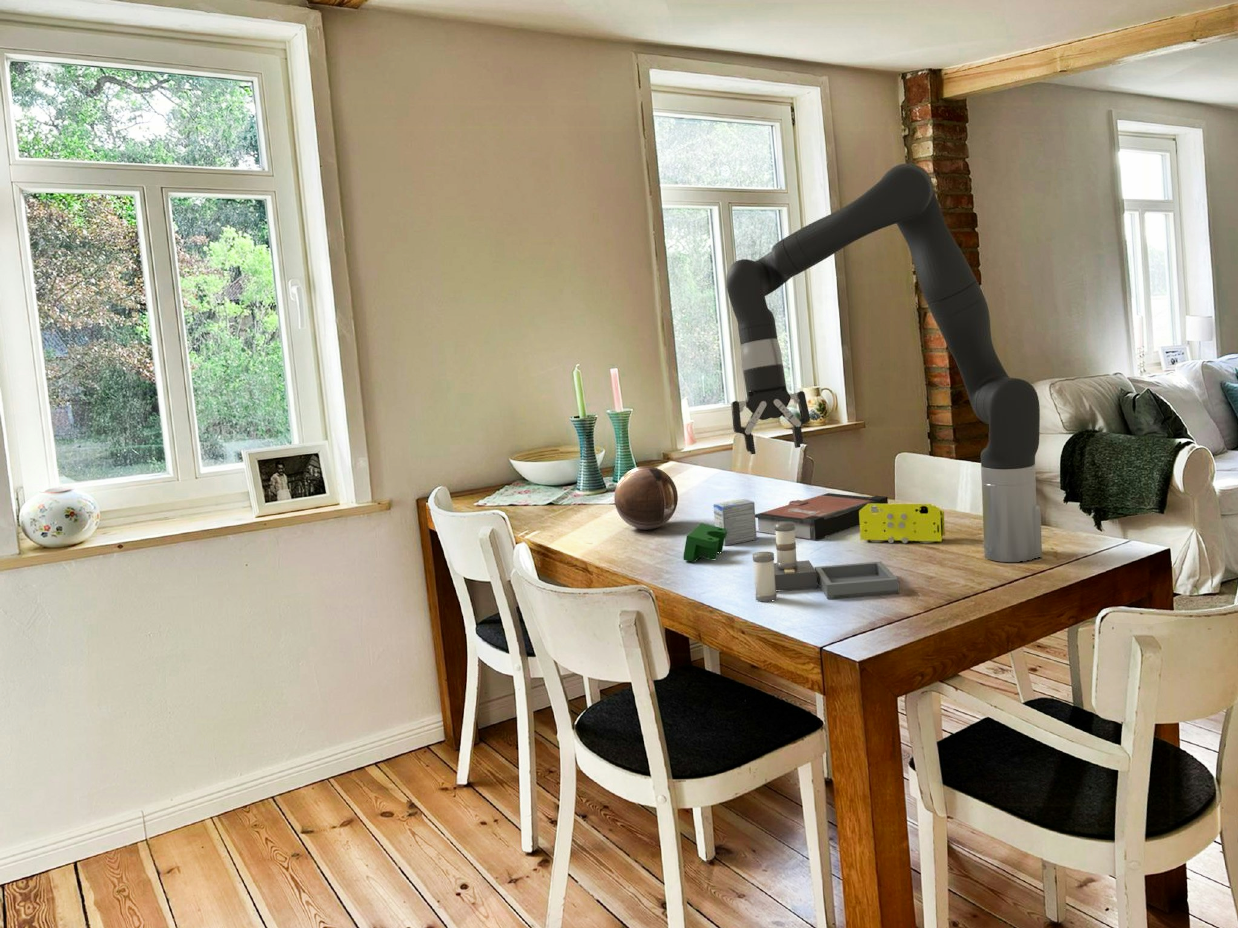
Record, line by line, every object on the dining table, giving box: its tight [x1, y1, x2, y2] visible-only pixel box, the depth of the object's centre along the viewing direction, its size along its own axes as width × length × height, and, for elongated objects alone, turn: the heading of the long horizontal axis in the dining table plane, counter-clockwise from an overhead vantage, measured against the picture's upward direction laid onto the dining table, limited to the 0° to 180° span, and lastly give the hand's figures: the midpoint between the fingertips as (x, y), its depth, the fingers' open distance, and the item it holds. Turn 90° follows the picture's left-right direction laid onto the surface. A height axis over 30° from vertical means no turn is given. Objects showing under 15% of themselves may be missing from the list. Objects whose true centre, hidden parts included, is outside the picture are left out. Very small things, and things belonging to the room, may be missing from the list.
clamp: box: [682, 522, 727, 563], centre depth 203 cm, size 12×6×9 cm
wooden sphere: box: [613, 465, 679, 531], centre depth 233 cm, size 15×15×15 cm
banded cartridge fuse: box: [774, 521, 798, 570], centre depth 177 cm, size 4×4×8 cm
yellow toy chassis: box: [859, 503, 946, 544], centre depth 201 cm, size 16×6×8 cm, turn 64°
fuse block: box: [774, 559, 818, 591], centre depth 178 cm, size 9×8×3 cm
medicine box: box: [713, 498, 758, 547], centre depth 213 cm, size 8×4×9 cm, turn 111°
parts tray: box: [813, 561, 900, 600], centre depth 173 cm, size 12×12×2 cm
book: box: [755, 492, 889, 542], centre depth 222 cm, size 26×18×5 cm
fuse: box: [752, 551, 778, 602], centre depth 170 cm, size 4×4×8 cm
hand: (775, 450), depth 186 cm, fingers open, 8 cm apart
